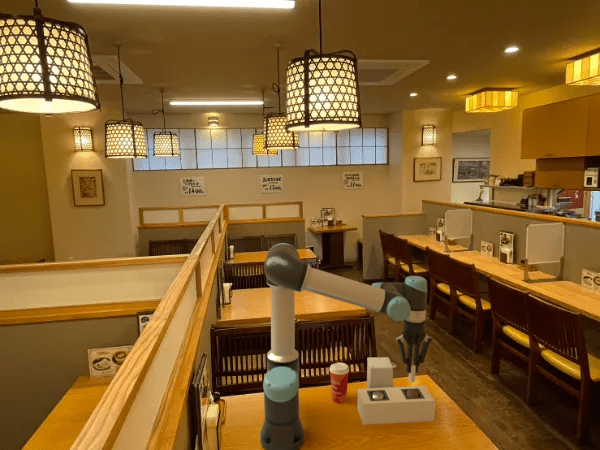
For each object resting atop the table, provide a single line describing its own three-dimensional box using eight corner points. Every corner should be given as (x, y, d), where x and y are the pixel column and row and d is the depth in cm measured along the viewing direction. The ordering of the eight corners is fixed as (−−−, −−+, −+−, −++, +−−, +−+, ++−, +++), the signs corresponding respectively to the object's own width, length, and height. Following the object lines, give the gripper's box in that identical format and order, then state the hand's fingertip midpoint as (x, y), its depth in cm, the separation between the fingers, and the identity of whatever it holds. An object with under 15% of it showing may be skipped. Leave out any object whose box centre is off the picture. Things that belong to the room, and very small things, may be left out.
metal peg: (373, 417, 151) (373, 397, 150) (371, 410, 155) (371, 391, 154) (384, 416, 151) (384, 397, 150) (381, 410, 155) (381, 391, 154)
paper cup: (326, 397, 166) (325, 364, 163) (342, 392, 169) (342, 360, 167) (335, 407, 158) (335, 373, 156) (352, 402, 162) (353, 368, 160)
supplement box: (393, 403, 160) (393, 367, 158) (369, 403, 160) (370, 367, 158) (388, 391, 169) (389, 356, 167) (366, 391, 169) (367, 356, 167)
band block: (363, 424, 148) (363, 404, 146) (357, 408, 158) (357, 388, 156) (434, 421, 149) (434, 400, 148) (424, 405, 159) (424, 385, 158)
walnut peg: (408, 415, 152) (408, 396, 150) (405, 409, 155) (405, 390, 154) (419, 414, 152) (419, 395, 151) (415, 408, 156) (416, 389, 155)
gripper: (399, 323, 144) (397, 386, 148) (436, 322, 145) (432, 385, 148) (393, 315, 152) (391, 375, 155) (428, 315, 152) (425, 374, 156)
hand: (411, 380), depth 152 cm, fingers closed
